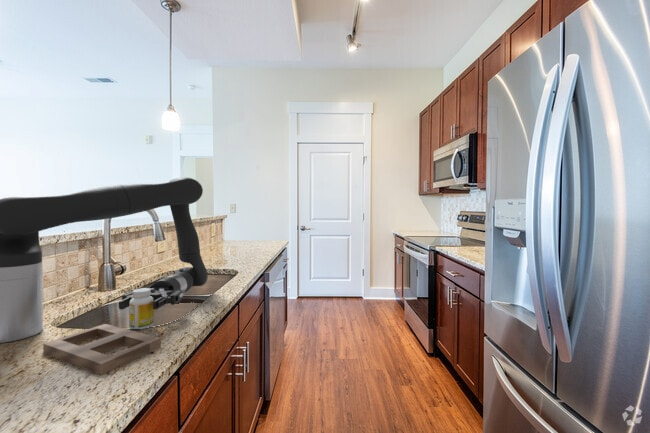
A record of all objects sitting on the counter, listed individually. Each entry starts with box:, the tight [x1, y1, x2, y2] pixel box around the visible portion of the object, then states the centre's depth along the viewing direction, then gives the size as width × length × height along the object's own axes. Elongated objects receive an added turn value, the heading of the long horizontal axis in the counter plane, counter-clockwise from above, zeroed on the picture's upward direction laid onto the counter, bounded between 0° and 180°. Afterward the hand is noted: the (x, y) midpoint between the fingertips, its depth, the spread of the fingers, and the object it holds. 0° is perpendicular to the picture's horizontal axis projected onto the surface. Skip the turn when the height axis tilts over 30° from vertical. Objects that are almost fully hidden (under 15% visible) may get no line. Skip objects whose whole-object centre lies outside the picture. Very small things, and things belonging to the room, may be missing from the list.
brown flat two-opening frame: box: [42, 323, 162, 376], centre depth 64 cm, size 20×12×2 cm, turn 67°
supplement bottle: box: [128, 287, 155, 331], centre depth 77 cm, size 5×5×10 cm
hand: (137, 305), depth 75 cm, fingers open, 8 cm apart
